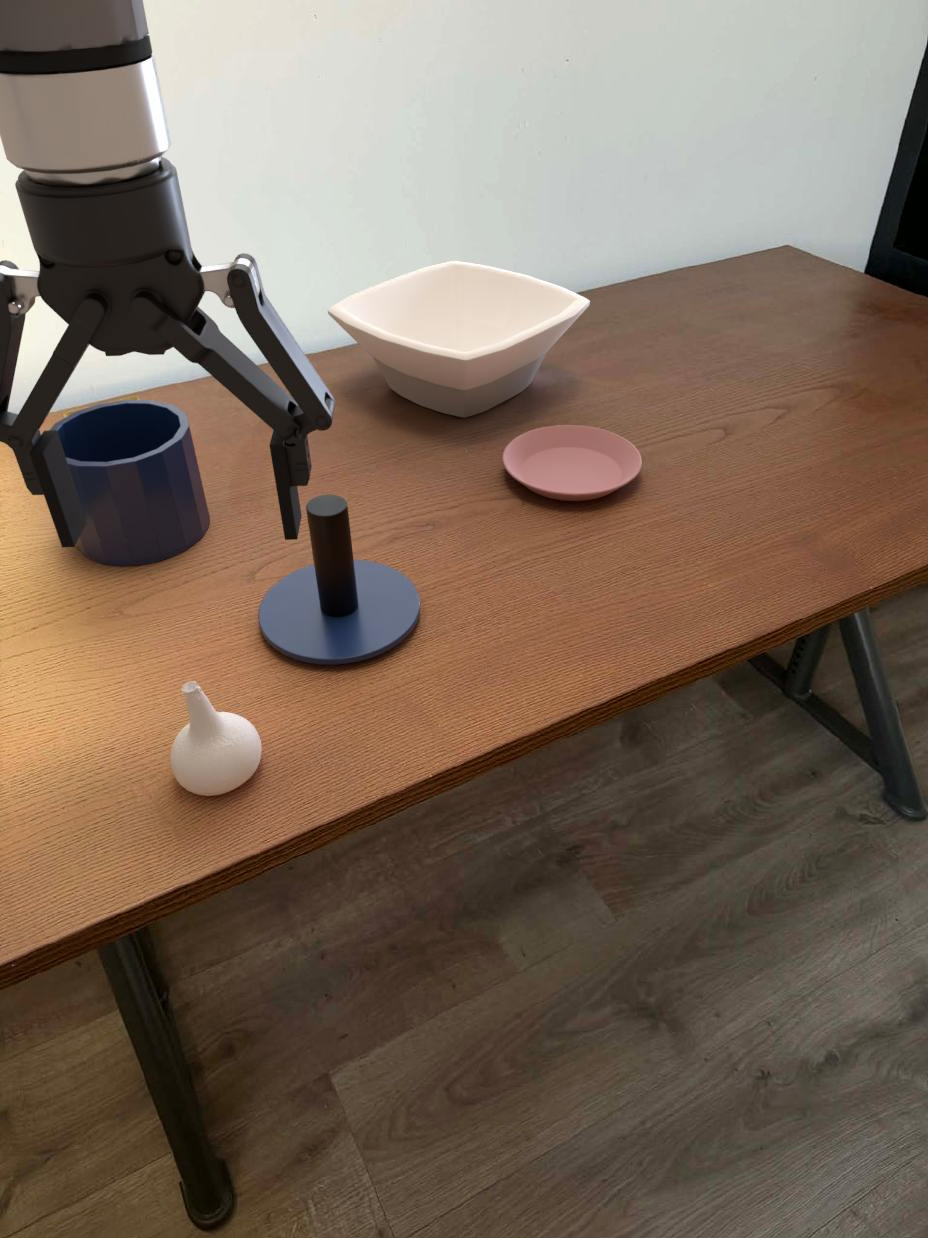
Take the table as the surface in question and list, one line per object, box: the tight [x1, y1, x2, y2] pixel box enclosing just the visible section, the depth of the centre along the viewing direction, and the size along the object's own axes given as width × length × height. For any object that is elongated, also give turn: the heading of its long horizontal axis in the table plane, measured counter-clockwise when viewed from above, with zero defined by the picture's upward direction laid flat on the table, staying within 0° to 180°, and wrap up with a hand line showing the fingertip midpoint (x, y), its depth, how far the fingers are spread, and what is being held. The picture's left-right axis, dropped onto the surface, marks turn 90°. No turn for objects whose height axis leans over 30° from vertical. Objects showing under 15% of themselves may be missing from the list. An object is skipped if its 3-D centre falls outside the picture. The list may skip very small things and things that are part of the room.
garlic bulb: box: [169, 680, 263, 797], centre depth 64 cm, size 6×6×8 cm
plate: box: [501, 424, 643, 502], centre depth 97 cm, size 14×14×2 cm
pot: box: [49, 399, 211, 567], centre depth 87 cm, size 13×13×10 cm
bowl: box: [327, 260, 591, 419], centre depth 111 cm, size 24×25×10 cm
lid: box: [257, 494, 421, 666], centre depth 76 cm, size 14×14×11 cm
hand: (184, 531), depth 58 cm, fingers open, 13 cm apart
